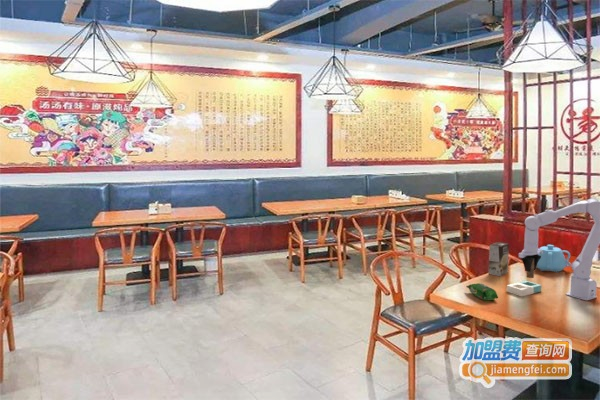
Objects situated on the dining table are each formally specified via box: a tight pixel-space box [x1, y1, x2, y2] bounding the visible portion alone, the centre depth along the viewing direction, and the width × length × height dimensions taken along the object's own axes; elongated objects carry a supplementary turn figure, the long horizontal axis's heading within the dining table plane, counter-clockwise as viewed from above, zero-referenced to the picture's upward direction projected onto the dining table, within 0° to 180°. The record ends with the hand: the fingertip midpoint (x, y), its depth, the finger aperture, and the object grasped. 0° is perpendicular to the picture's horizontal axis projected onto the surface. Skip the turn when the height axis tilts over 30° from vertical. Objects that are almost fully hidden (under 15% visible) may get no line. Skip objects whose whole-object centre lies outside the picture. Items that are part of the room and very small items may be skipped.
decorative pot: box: [536, 244, 572, 273], centre depth 242 cm, size 16×16×14 cm
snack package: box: [466, 282, 499, 301], centre depth 205 cm, size 7×16×5 cm, turn 11°
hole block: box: [506, 280, 542, 297], centre depth 210 cm, size 8×14×3 cm, turn 117°
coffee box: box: [488, 241, 510, 277], centre depth 238 cm, size 9×6×16 cm
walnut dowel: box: [526, 259, 535, 279], centre depth 209 cm, size 3×3×9 cm
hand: (530, 270), depth 209 cm, fingers closed on walnut dowel, 3 cm apart
